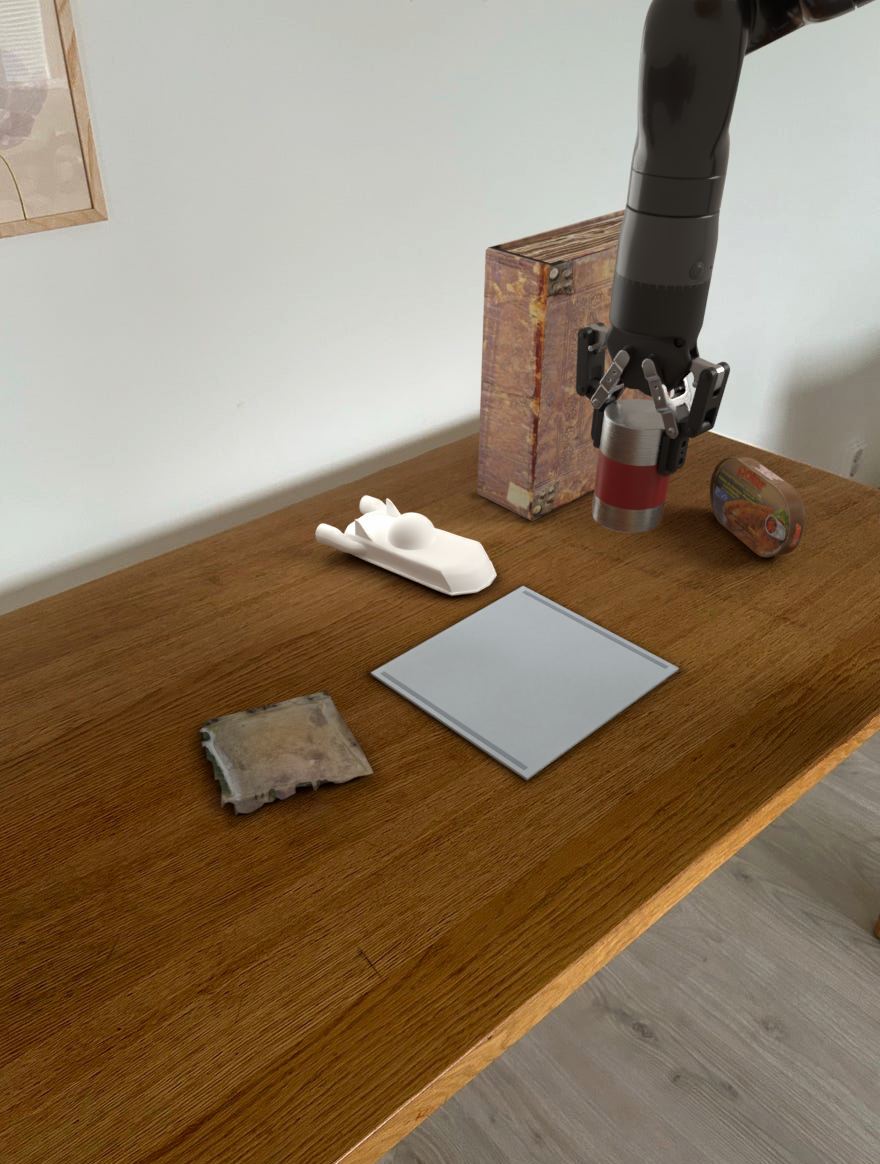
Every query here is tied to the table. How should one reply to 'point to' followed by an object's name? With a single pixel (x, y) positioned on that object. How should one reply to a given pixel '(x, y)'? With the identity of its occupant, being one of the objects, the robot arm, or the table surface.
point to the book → (542, 364)
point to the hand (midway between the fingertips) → (634, 458)
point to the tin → (757, 506)
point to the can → (630, 468)
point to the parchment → (281, 750)
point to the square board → (524, 679)
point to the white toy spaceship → (412, 548)
